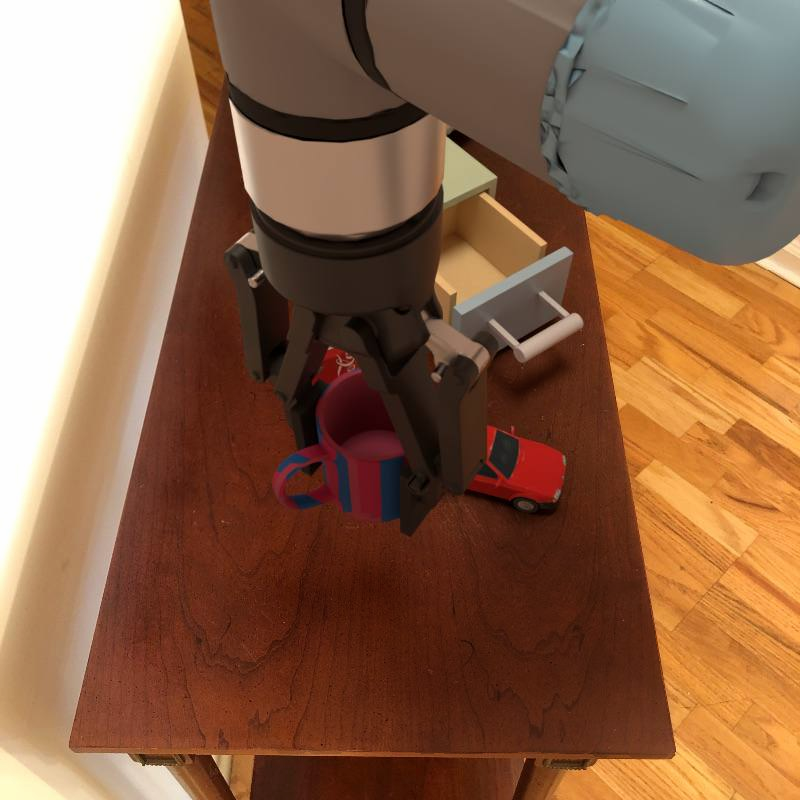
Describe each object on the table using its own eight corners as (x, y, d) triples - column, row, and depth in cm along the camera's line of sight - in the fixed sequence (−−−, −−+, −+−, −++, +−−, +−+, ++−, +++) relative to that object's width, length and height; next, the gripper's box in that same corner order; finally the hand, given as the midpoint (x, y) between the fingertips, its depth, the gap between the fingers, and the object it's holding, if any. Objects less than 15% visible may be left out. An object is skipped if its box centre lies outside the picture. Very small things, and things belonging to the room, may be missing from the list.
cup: (451, 496, 48) (457, 433, 43) (300, 564, 45) (287, 506, 40) (401, 417, 52) (401, 350, 46) (259, 476, 49) (241, 412, 44)
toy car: (554, 523, 66) (564, 494, 62) (390, 480, 68) (389, 449, 64) (566, 461, 69) (576, 429, 65) (410, 422, 72) (411, 389, 68)
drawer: (596, 348, 76) (615, 286, 69) (492, 412, 71) (501, 353, 64) (461, 230, 86) (466, 166, 79) (363, 280, 81) (359, 217, 75)
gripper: (626, 222, 28) (537, 522, 47) (218, 58, 35) (281, 377, 53) (526, 354, 25) (473, 623, 43) (91, 142, 31) (206, 454, 50)
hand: (367, 487), depth 48 cm, fingers closed on cup, 7 cm apart
